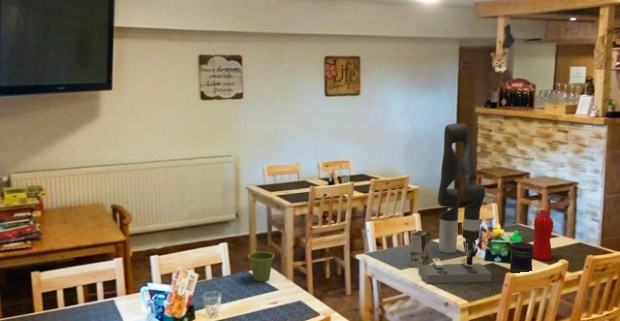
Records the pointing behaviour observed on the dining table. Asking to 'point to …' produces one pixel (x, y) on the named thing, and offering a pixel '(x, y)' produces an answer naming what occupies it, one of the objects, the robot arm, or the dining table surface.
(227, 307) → the dining table surface
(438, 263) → the rocker off
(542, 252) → the water bottle
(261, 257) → the plant pot
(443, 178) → the robot arm
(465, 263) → the rocker on
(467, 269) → the switch panel
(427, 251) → the coffee box
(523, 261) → the storage jar
